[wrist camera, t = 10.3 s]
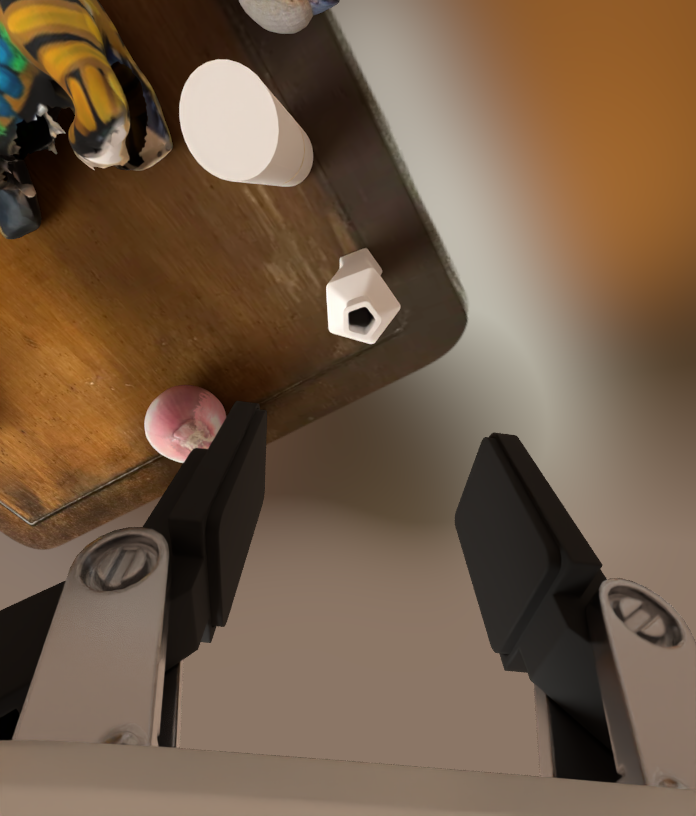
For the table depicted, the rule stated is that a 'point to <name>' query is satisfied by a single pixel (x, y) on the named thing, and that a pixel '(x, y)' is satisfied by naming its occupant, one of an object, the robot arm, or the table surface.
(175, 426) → the onion
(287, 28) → the bird
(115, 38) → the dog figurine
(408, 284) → the table surface
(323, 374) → the table surface
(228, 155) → the tube
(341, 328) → the white faceted vase
